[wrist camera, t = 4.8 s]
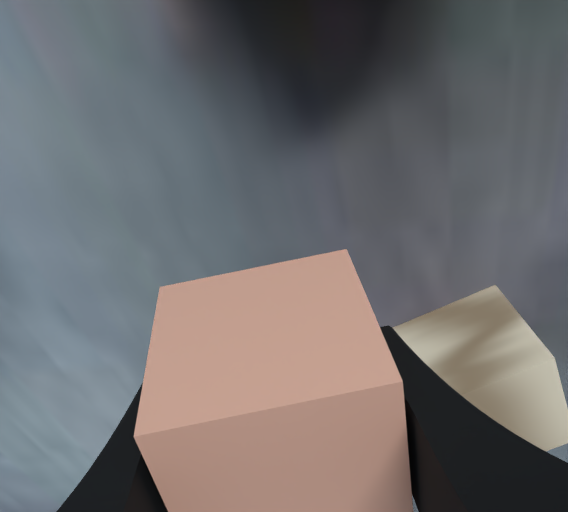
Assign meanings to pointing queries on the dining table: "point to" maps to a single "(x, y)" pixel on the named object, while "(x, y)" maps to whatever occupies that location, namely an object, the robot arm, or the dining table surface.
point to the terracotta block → (274, 394)
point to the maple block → (494, 364)
